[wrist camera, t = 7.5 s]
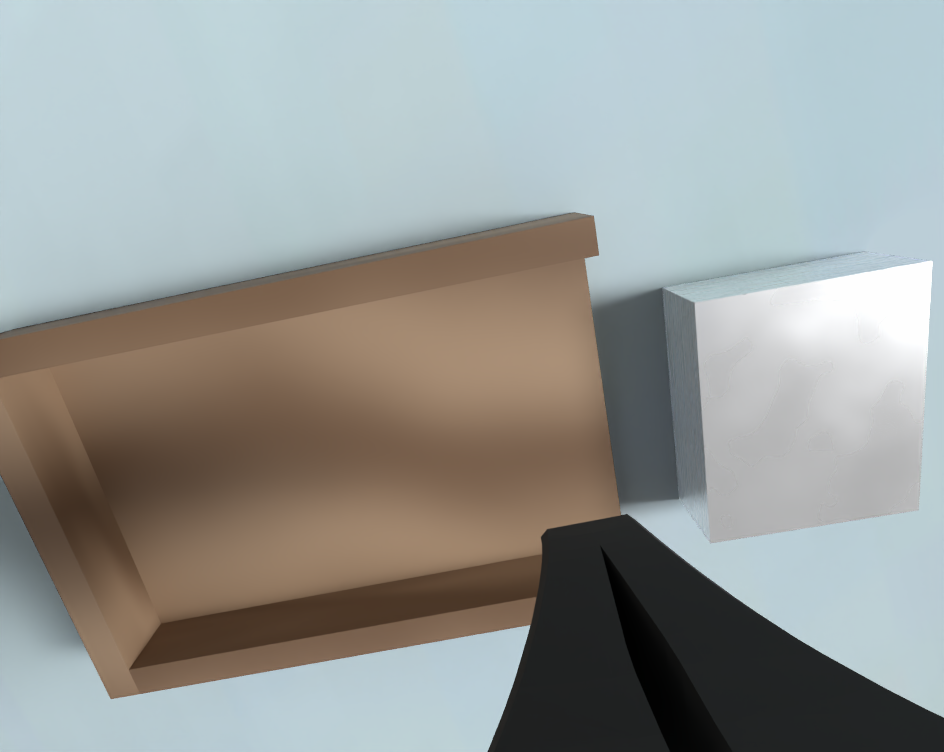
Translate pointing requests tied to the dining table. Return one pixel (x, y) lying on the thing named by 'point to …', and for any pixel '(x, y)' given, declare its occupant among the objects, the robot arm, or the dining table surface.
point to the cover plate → (799, 393)
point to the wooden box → (312, 455)
